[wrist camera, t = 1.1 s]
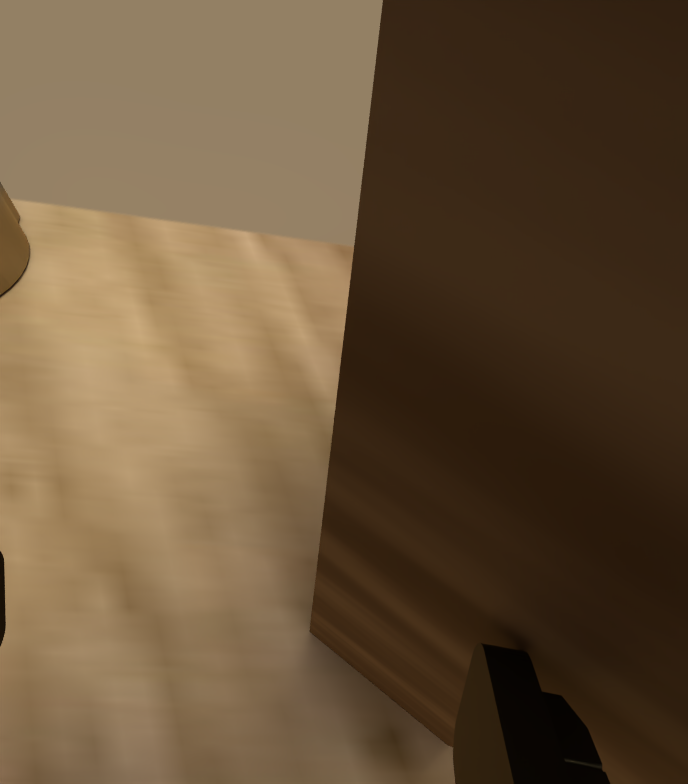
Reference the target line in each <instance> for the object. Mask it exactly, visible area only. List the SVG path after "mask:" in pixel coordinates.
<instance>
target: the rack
mask: <svg viewBox="0 0 688 784" xmlns="http://www.w3.org/2000/svg"><path fill="white" fill-rule="evenodd" d="M310 632H311V633H312V634H313V635H315V636H316V637H317V638H318V639H319V640H321V641H322V642H323V643H324V644H325V645H327V646H328V647H329V648H330V649H332V650H333V651H334V652H335V653H336V654H338V655H339V656H340V657H341V658H343V659H344V660H345V661H346V662H347V663H349V664H350V665H351V666H352V667H353V668H355V669H356V670H357V671H358V672H360V673H361V674H362V675H363V676H364V677H366V678H367V679H368V680H369V681H370V682H372V683H373V684H374V685H375V686H377V687H378V688H379V689H380V690H381V691H383V692H384V693H385V694H386V695H388V696H389V697H390V698H391V699H392V700H394V701H395V702H396V703H397V704H398V705H400V706H401V707H402V708H403V709H405V710H406V711H407V712H408V713H409V714H411V715H412V716H413V717H414V718H415V719H417V720H418V721H419V722H420V723H422V724H423V725H424V726H425V727H426V728H428V729H429V730H430V731H431V732H432V733H434V734H435V735H436V736H437V737H439V738H440V739H441V740H442V741H443V742H445V743H446V744H447V745H449V746H452V747H453V742H454V730H455V723H456V718H457V714H458V710H459V706H460V702H461V698H462V694H463V690H464V686H465V682H466V678H467V674H468V670H469V666H470V662H471V658H472V655H473V651H474V648H475V646H476V645H477V644H478V643H484V644H489V645H494V646H500V647H505V648H510V649H515V650H520V651H525V652H527V653H528V654H529V656H530V658H531V661H532V664H533V667H534V670H535V673H536V676H537V678H538V681H539V684H540V687H541V690H542V692H547V693H552V694H557V695H562V697H563V698H564V699H565V700H566V702H567V703H568V704H569V705H570V706H571V708H572V709H573V710H574V711H575V713H576V714H577V715H578V716H579V718H580V719H581V720H582V721H583V723H584V724H585V725H586V726H587V728H588V730H589V732H590V735H591V737H592V740H593V742H594V745H595V747H596V750H597V752H598V755H599V757H600V759H601V762H602V770H603V772H606V774H607V777H608V779H609V782H610V784H688V0H383V6H382V14H381V23H380V31H379V40H378V48H377V57H376V66H375V74H374V82H373V91H372V100H371V108H370V117H369V125H368V134H367V142H366V151H365V160H364V168H363V177H362V185H361V194H360V202H359V211H358V220H357V228H356V237H355V245H354V254H353V263H352V271H351V280H350V288H349V297H348V306H347V314H346V323H345V331H344V340H343V348H342V357H341V366H340V374H339V383H338V391H337V400H336V409H335V417H334V426H333V434H332V443H331V452H330V460H329V469H328V477H327V486H326V494H325V503H324V512H323V520H322V529H321V537H320V546H319V555H318V563H317V572H316V580H315V589H314V598H313V606H312V615H311V623H310Z"/></svg>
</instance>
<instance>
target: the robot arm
mask: <svg viewBox="0 0 688 784" xmlns="http://www.w3.org/2000/svg"><path fill="white" fill-rule="evenodd" d="M19 218H20V215H19V213H18V212H17V210H16V208H15V206H14V205H13V203H12V201H11V200H10V198H9V196H8V194H7V193H6V191H5V189H4V188H3V186H2V184H1V182H0V295H1V294H2V293H3V292H5V291H6V290H7V289H9V288H10V287H11V286H12V285H13V284H14V283H15V282H16V281H17V279H18V278H19V277H20V276H21V274H22V273H23V271H24V269H25V267H26V266H27V262H28V259H29V243H28V240H27V237H26V235H25V234H24V232H23V230H22V229H21V227H20V225H19V224H18V221H19ZM5 625H6V622H5V577H4V558H3V555H2V553H1V552H0V646H1V643H2V641H3V637H4V634H5ZM453 762H454V773H455V782H456V784H610V782H609V779H608V777H607V774H606V772H603V770H602V762H601V759H600V757H599V755H598V752H597V750H596V747H595V745H594V742H593V740H592V737H591V735H590V732H589V730H588V728H587V726H586V725H585V724H584V723H583V721H582V720H581V719H580V718H579V716H578V715H577V714H576V713H575V711H574V710H573V709H572V708H571V706H570V705H569V704H568V703H567V702H566V700H565V699H564V698H563V697H562V695H557V694H552V693H547V692H542V690H541V687H540V684H539V681H538V678H537V676H536V673H535V670H534V667H533V664H532V661H531V658H530V656H529V654H528V653H527V652H525V651H520V650H515V649H510V648H505V647H500V646H494V645H489V644H484V643H478V644H477V645H476V646H475V648H474V651H473V655H472V658H471V662H470V666H469V670H468V674H467V678H466V682H465V686H464V690H463V694H462V698H461V702H460V706H459V710H458V714H457V718H456V723H455V730H454V742H453Z"/></svg>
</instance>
